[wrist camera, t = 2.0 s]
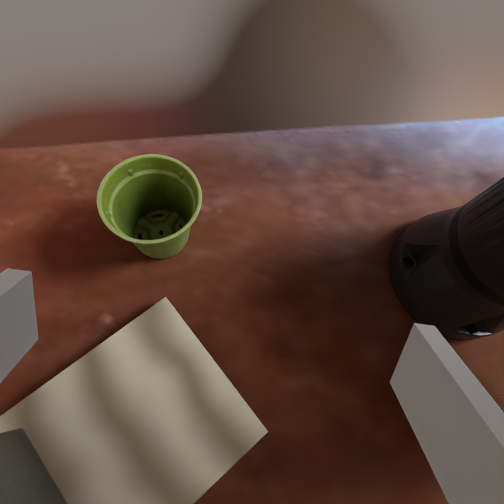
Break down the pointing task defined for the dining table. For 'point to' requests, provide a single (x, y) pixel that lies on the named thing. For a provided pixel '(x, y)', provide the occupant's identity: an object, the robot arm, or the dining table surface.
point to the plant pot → (150, 203)
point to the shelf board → (139, 418)
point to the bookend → (24, 473)
